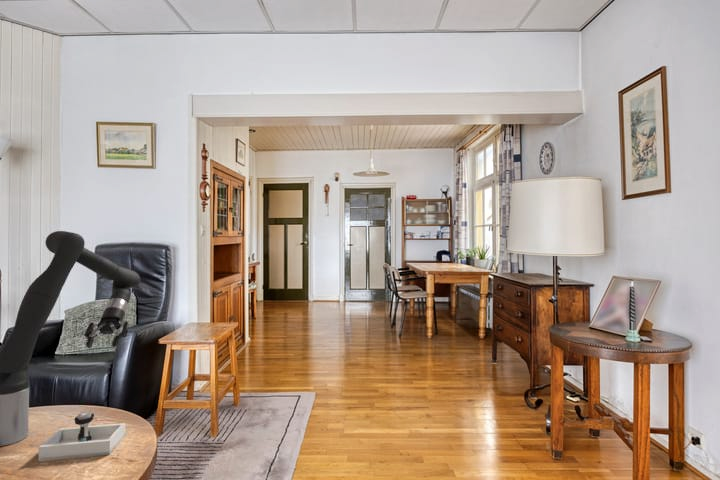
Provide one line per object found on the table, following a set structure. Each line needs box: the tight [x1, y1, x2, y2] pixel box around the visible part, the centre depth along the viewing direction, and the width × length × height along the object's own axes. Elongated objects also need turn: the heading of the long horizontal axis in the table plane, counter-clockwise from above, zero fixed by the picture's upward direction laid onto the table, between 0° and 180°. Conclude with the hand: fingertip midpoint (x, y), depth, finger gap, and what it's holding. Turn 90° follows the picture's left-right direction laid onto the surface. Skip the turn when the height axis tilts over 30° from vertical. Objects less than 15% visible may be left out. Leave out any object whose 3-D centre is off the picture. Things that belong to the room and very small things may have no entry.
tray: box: [37, 422, 126, 462], centre depth 123 cm, size 20×12×4 cm, turn 102°
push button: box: [73, 411, 95, 442], centre depth 124 cm, size 7×5×10 cm
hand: (101, 346), depth 142 cm, fingers open, 8 cm apart
